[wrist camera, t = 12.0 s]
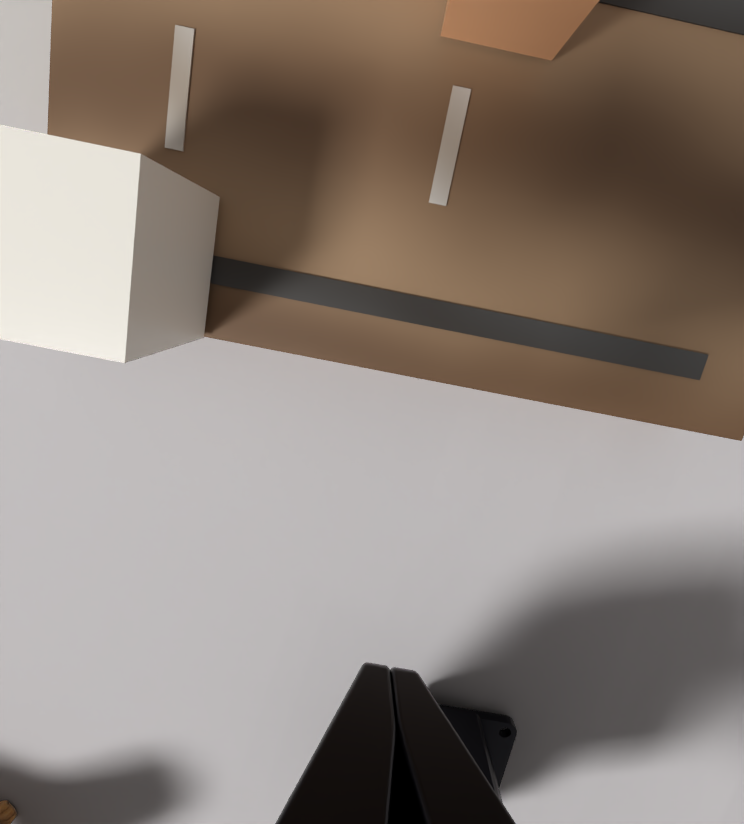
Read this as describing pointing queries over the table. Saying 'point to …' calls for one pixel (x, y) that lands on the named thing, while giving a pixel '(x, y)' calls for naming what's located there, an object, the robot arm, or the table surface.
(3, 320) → the block
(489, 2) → the terracotta fader
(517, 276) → the board
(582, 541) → the table surface
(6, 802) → the lion figurine
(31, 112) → the table surface
